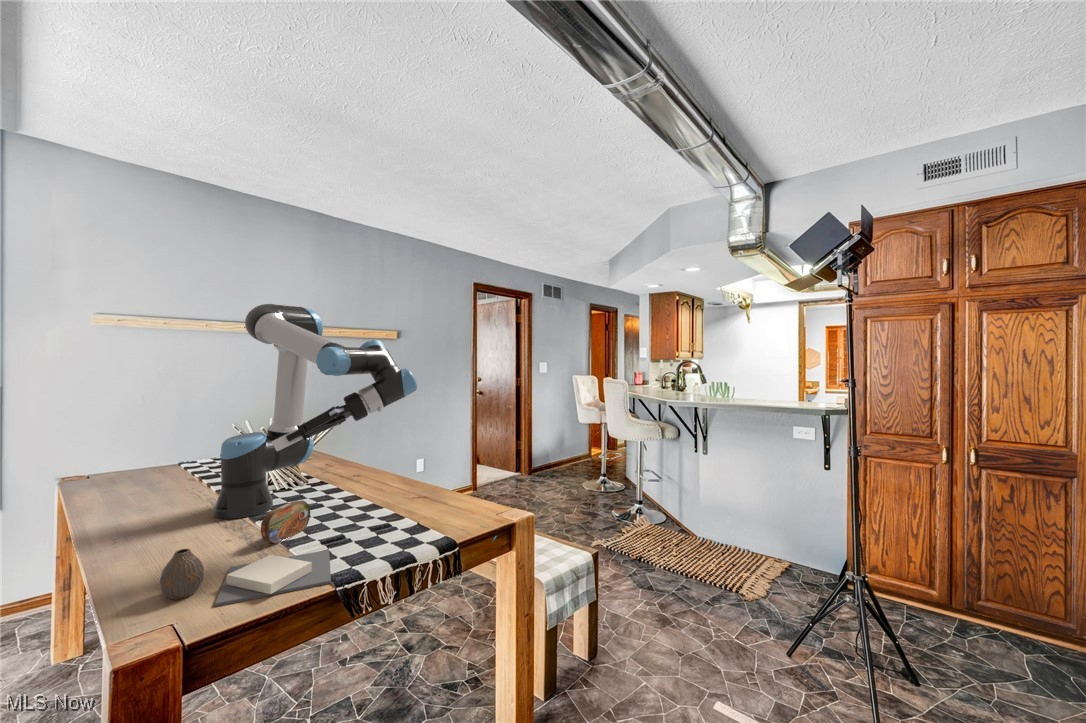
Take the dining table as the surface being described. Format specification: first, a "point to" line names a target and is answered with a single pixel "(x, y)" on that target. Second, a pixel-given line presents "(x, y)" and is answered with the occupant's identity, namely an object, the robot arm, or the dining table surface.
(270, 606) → the dining table surface
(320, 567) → the mat
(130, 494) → the dining table surface
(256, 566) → the tile
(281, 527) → the tin
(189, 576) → the vase
